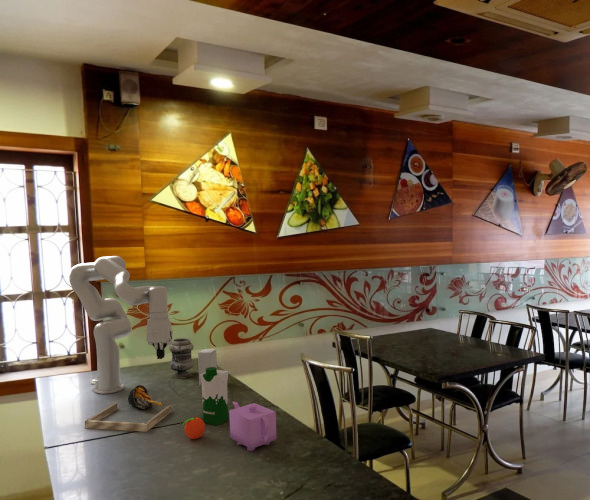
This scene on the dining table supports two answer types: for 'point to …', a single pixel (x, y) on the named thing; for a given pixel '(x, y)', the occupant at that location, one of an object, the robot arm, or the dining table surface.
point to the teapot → (252, 425)
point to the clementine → (194, 427)
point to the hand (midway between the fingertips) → (160, 358)
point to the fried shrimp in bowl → (141, 398)
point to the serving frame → (128, 426)
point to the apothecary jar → (181, 357)
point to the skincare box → (206, 361)
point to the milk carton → (214, 396)
